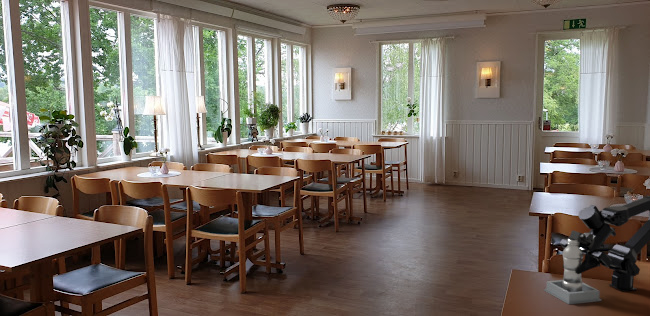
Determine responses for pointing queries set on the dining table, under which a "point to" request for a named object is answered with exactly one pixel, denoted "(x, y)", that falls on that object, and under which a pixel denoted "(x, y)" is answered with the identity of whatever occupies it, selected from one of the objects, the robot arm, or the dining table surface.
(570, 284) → the plastic bottle
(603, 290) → the dining table surface
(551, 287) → the bottle dock
